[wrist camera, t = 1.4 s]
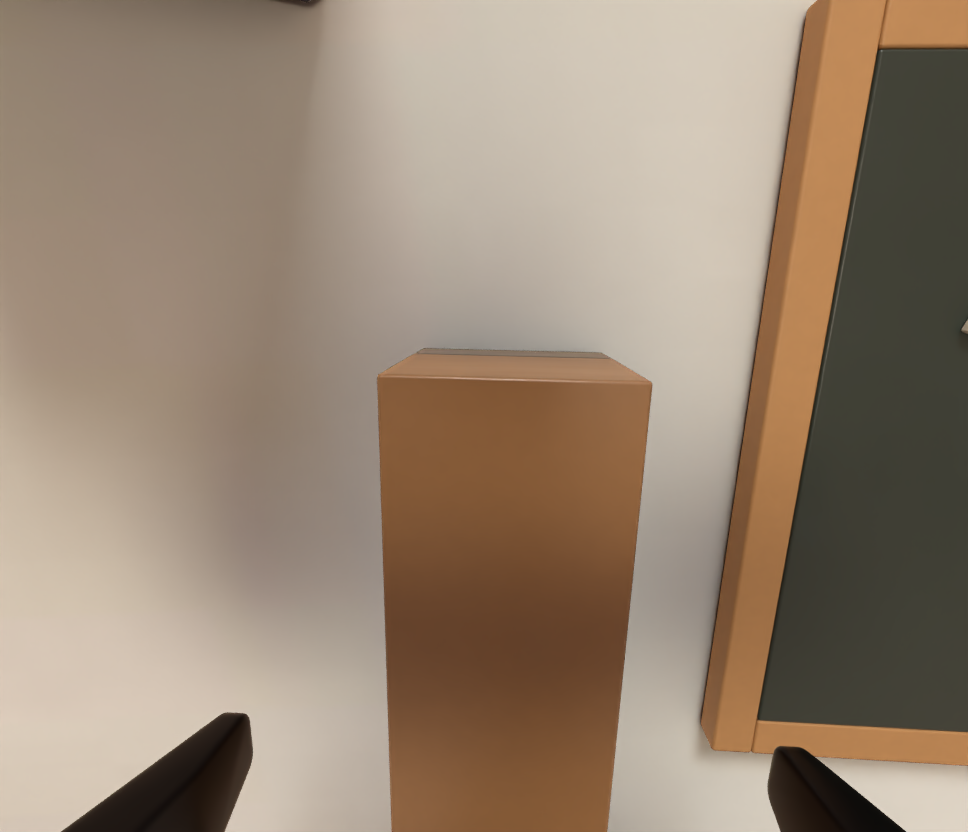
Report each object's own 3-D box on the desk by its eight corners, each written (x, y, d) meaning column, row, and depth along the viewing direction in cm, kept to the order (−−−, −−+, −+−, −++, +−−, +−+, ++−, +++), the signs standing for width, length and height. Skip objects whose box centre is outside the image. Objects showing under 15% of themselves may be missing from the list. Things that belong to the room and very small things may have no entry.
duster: (575, 717, 16) (602, 886, 12) (425, 708, 16) (392, 870, 12) (603, 352, 13) (653, 381, 9) (421, 348, 14) (376, 373, 9)
